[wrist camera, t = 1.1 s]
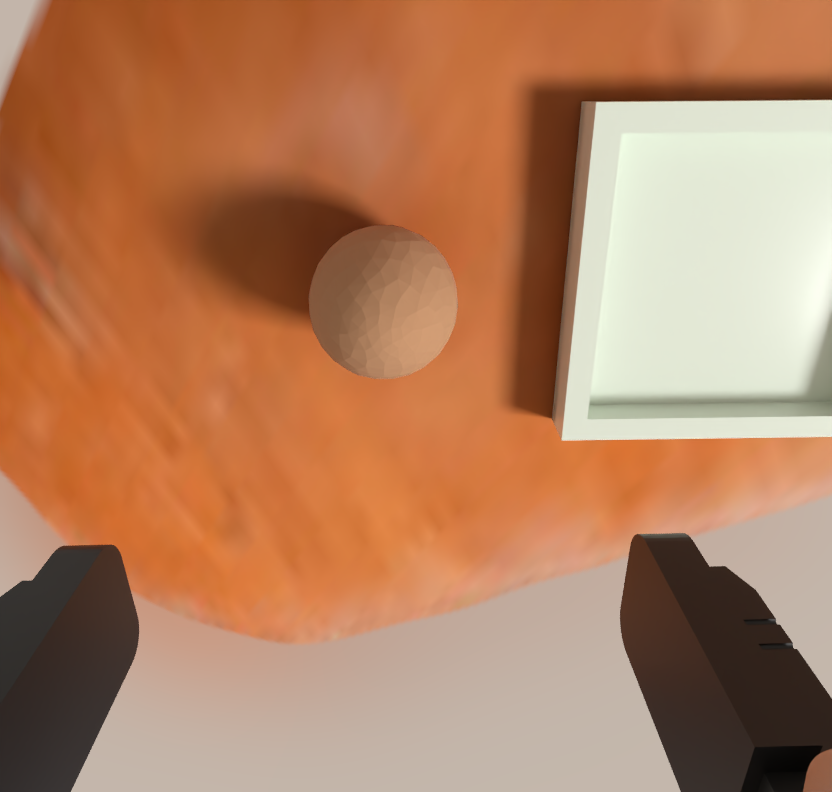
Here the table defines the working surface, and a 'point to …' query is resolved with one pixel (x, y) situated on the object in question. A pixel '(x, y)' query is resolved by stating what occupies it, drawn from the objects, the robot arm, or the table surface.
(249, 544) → the table surface
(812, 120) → the dish
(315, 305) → the egg
